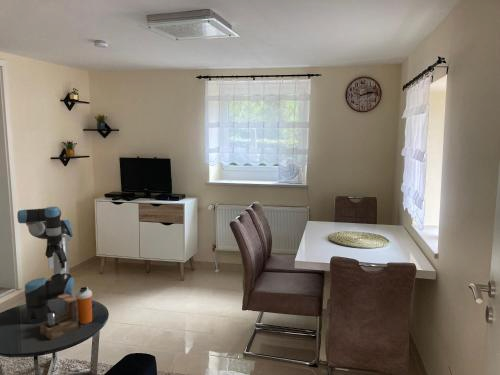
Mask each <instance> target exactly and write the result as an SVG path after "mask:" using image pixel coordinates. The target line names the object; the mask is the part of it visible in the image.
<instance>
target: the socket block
mask: <svg viewBox="0 0 500 375" xmlns="http://www.w3.org/2000/svg"><path fill="white" fill-rule="evenodd" d="M57 298H59V300H61V301H63V302H64V311H65V312H64V313H65V314H64V315H62V316H60V317H55V319H56V326H54V327H52V328H48V321H46V322H44V323H43V322H42V323H40V324H39V330H40V334H41V335H43V336H45V337H46V338H48V339H49V340H50V341H51V340H55V339H56V338H58V337H59V338H60V337H62V336H63V335H66V334H68V333H71V332H74V331H77V330H78V329H80V323H79V315H78V307H77V298H76V296H75V297H74V296H73V295H72V296H71V295H68V294H66V293H65V294H62V295H59V296H57Z"/></svg>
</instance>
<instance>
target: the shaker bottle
mask: <svg viewBox="0 0 500 375" xmlns="http://www.w3.org/2000/svg"><path fill="white" fill-rule="evenodd" d="M75 298H77V307H78V320H79V324H81V325H87V324H89V322H90V323H91V322H92V321H93V291H92V290H91V289H89V287H88V286H84V287H80V288H79V290H78V291H77V292H76V293H75Z"/></svg>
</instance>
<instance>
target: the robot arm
mask: <svg viewBox="0 0 500 375" xmlns="http://www.w3.org/2000/svg"><path fill="white" fill-rule="evenodd" d="M16 215H17V222H18V223H19V224H25V225H26V226H27V227H28V228H27V229H28V233H29V234H30V235H31V236H33V237H34V238H38V239H41V240H46V248H45V253H44V254H45V255H44V256H45V257H46V258H47V264H48V266H47V267H48V270H51V269H53V275H51V277H50V279H49V280H47V278H46V277H38V278H35V279H31V280H30V281H28V282H27V283H25V284H24V296H25V312H24V316H23V321H24V323H26V324H38V323H40V324H41V323H43V322H45V321H46V322H47V321H48V315H47V313H49V312H52V308H51V307H50V305H49V301H51V300H52V301H53V300H58V299H59V298H57V296H59V295H62V294H65V293H66V294H68V295H71V296H73V295H74V290H75V277H73V276H72V274H71V273H70V268H69V267H70V266H69V265H70V264H69V241H71V238H73V237H74V236H73V229H72V224H71V221H70V220H69V219H62V220H61V216H62V210H61V209H60V207H58V206H47V207H45V208H34V209H33V208H30V209H21V210H18V211H17V214H16ZM59 300H60V299H59Z"/></svg>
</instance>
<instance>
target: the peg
mask: <svg viewBox="0 0 500 375" xmlns="http://www.w3.org/2000/svg"><path fill="white" fill-rule="evenodd" d="M47 315H48V320H47V322H48V328H52V327H54V326H56V312H55V311H54V310H53V311H52V312H49V313H47Z"/></svg>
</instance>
